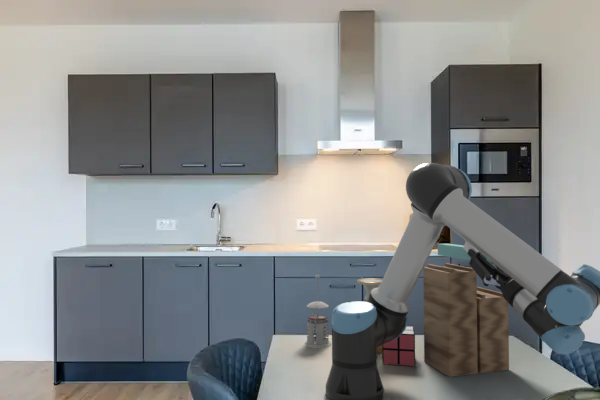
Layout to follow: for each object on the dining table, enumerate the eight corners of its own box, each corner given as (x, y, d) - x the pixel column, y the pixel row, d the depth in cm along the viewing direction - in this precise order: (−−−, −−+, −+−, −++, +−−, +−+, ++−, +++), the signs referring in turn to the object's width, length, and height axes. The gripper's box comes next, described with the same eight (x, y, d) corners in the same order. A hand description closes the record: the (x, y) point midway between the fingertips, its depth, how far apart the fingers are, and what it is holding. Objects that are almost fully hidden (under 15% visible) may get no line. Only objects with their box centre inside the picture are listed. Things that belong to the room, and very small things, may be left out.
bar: (497, 262, 124) (497, 249, 124) (486, 263, 123) (486, 249, 123) (447, 254, 147) (447, 243, 147) (437, 254, 146) (437, 243, 146)
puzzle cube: (415, 367, 142) (415, 334, 143) (382, 364, 144) (382, 332, 145) (413, 356, 152) (413, 326, 152) (383, 354, 154) (382, 324, 154)
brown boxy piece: (449, 376, 134) (448, 269, 134) (424, 361, 147) (423, 264, 148) (509, 369, 139) (507, 267, 140) (479, 355, 153) (478, 262, 153)
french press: (334, 341, 170) (333, 273, 171) (326, 350, 159) (326, 277, 160) (308, 339, 173) (308, 272, 174) (299, 347, 162) (299, 276, 163)
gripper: (491, 312, 111) (443, 255, 131) (547, 307, 116) (492, 253, 136) (501, 287, 108) (450, 233, 128) (558, 284, 112) (500, 232, 132)
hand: (472, 244), depth 132 cm, fingers closed on bar, 3 cm apart
